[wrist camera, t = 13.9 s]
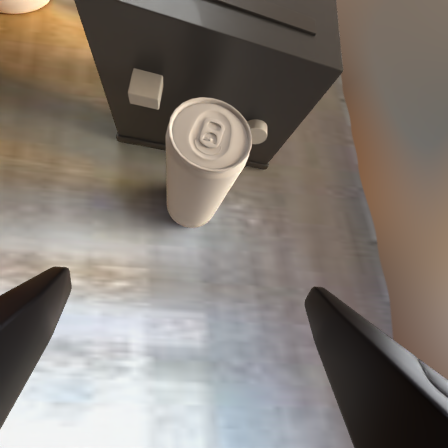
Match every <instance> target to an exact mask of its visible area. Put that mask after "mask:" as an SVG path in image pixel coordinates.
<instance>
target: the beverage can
mask: <svg viewBox="0 0 448 448" xmlns="http://www.w3.org/2000/svg"><path fill="white" fill-rule="evenodd" d="M251 146H252V135H251V130H250V127H249V125H248V123H247V121H246V120H245V118H244V117H243V116H242V115H241V113H240V112H239V111H237V110H236V109H235V108H234V107H233V106H231V105H229V104H227V103H225V102H223V101H221V100H217V99H214V98H206V97H200V98H194V99H190V100H188V101H186V102H183V103H182V104H181V105H180V106H178V107H177V108H176V109H175V110H174V112H173V114H172V115H171V117H170V121H169V125H168V127H167V132H166V185H167V209H168V212H169V215H170V216H171V217H172V219H173V220H174V221H175V222H177V223H178V224H180V225H182V226H184V227H189V228H195V227H200V226H202V225H204V224H206V223H207V222H208V221H209V220H210V219H211V218H212V216H213V215H214V213H215V212H216V210H217V208H218V207H219V205H220V204H221V202H222V201H223V199H224V197H225V196H226V194H227V193H228V191H229V190H230V188H231V187H232V185H233V183H234V182H235V180H236V179H237V177H238V176H239V174H240V173H241V171H242V169H243V168H244V166H245V164H246V162H247V160H248V157H249V152H250V150H251Z"/></svg>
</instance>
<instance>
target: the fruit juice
mask: <svg viewBox="0 0 448 448" xmlns="http://www.w3.org/2000/svg"><path fill="white" fill-rule="evenodd" d="M49 1H50V0H0V12H1V13H9V14H20V13H28V12H32V11H35V10H38V9H40V8H42V7H43V6H45V5H46V4H47V3H48V2H49Z"/></svg>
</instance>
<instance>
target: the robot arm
mask: <svg viewBox="0 0 448 448" xmlns="http://www.w3.org/2000/svg"><path fill="white" fill-rule="evenodd" d="M71 287H72V286H71V278H70V271H69V269H68V268H66V267H52V268H50V269H48V270H46V271H44V272H42V273H41V274H39V275H37V276H35V277H33V278H32V279H30V280H28V281H26V282H24V283H22V284H21V285H19V286H17V287H15V288H13V289H11V290H10V291H8V292H6V293H4V294H2V295H0V429H1V427H2V425H3V423H4V422H5V420H6V418H7V416H8V414H9V413H10V411H11V409H12V407H13V406H14V404H15V402H16V400H17V398H18V397H19V395H20V393H21V391H22V389H23V388H24V386H25V384H26V382H27V380H28V379H29V377H30V375H31V373H32V371H33V370H34V368H35V366H36V364H37V363H38V361H39V359H40V357H41V355H42V354H43V352H44V350H45V348H46V346H47V345H48V343H49V341H50V339H51V337H52V335H53V332H54V330H55V328H56V325H57V323H58V321H59V318H60V316H61V314H62V311H63V309H64V307H65V304H66V302H67V299H68V297H69V295H70V292H71ZM305 309H306V312H307V316H308V320H309V323H310V327H311V331H312V334H313V338H314V341H315V344H316V347H317V350H318V353H319V355H320V358H321V361H322V363H323V366H324V369H325V371H326V374H327V376H328V379H329V382H330V384H331V387H332V390H333V392H334V395H335V398H336V400H337V403H338V406H339V408H340V411H341V414H342V416H343V419H344V422H345V424H346V427H347V430H348V432H349V435H350V438H351V440H352V443H353V445H354V448H448V380H447V379H446V378H444V377H443V376H441V375H440V374H439V373H437V372H436V371H435V370H433V369H432V368H431V367H429V366H428V365H426V364H425V363H424V362H422V361H421V360H420V359H417V357H416V356H414V355H413V354H412V353H410V352H409V351H408V350H406V349H405V348H404V347H402V346H401V345H400V344H398V343H397V342H395V341H394V340H393V339H392V338H390V337H389V336H388V335H386V334H385V333H384V332H382V331H381V330H380V329H378V328H377V327H376V326H374V325H373V324H372V323H370V322H369V321H367V320H366V319H365V318H363V317H362V316H361V315H359V314H358V313H357V312H355V311H354V310H353V309H351V308H350V307H349V306H347V305H346V304H345V303H343V302H342V301H341V300H339V299H338V298H337V297H335V296H334V295H333V294H331V293H330V292H329V291H327V290H326V289H325V288H322V287H313V288H312V289H311V290H310V292H309V294H308V296H307V298H306V300H305Z"/></svg>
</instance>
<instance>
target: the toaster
mask: <svg viewBox="0 0 448 448" xmlns="http://www.w3.org/2000/svg"><path fill="white" fill-rule="evenodd" d="M75 3H76V7H77V10H78V13H79V16H80V19H81V22H82V25H83V28H84V31H85V34H86V37H87V40H88V43H89V46H90V49H91V52H92V55H93V58H94V61H95V64H96V67H97V70H98V73H99V76H100V79H101V82H102V85H103V88H104V91H105V94H106V98H107V101H108V104H109V107H110V110H111V113H112V116H113V119H114V122H115V125H116V128H117V131H118V132H117V136H116V137H117V140H118V141H120V142H125V143H130V144H135V145H140V146H146V147H151V148H156V149H161V150H166V132H167V127H168V125H169V121H170V117H171V115H172V114H173V112H174V110H175V109H176V108H177V107H178V106H180V105H181V104H182V103H183V102H186V101H188V100H190V99H194V98H200V97H206V98H214V99H217V100H221V101H223V102H225V103H227V104H229V105H231V106H233V107H234V108H235V109H236V110H237V111H239V112H240V113H241V115H242V116H243V117H244V118H245V120H246V121H247V123H248V125H249V127H250V130H251V135H252V146H251V150H250V152H249V157H248V160H247V162H246V164H245V166H250V167H256V168H261V169H267V168H268V166H269V161H270V160H271V159H272V158H273V156H274V155H275V154H276V153H277V151H278V150H279V149H280V148H281V147H282V145H283V144H284V143H285V142H286V140H287V139H288V138H289V137H290V136H291V134H292V133H293V132H294V131H295V129H296V128H297V127H298V126H299V125H300V123H301V122H302V121H303V120H304V119H305V117H306V116H307V115H308V114H309V112H310V111H311V110H312V109H313V108H314V106H315V105H316V104H317V103H318V101H319V100H320V99H321V98H322V97H323V95H324V94H325V93H326V92H327V90H328V89H329V88H330V87H331V86H332V84H333V83H334V82H335V81H336V79H337V78H338V77H339V76H340V75H341V73H342V72H343V64H342V54H341V44H340V34H339V24H338V15H337V6H336V0H75Z"/></svg>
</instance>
